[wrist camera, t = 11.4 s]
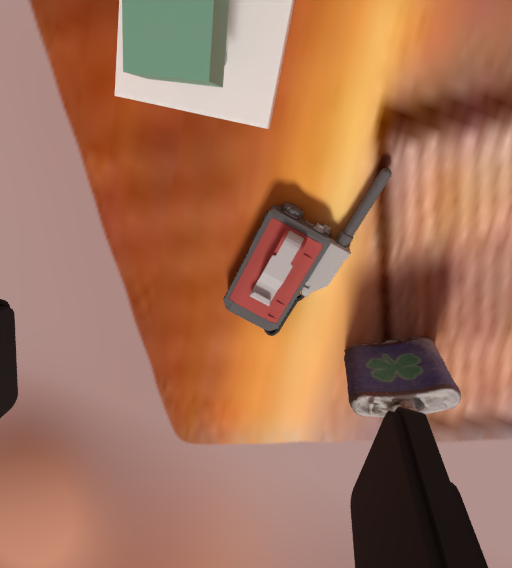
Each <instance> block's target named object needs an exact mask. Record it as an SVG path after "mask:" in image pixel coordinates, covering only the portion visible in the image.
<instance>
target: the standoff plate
mask: <svg viewBox="0 0 512 568" xmlns="http://www.w3.org/2000/svg"><path fill="white" fill-rule="evenodd" d="M294 2H295V0H229V10H228V24H227V37H226V51H225V65H224V79H223V88H222V87H213V86H205V85H196V84H187V83H179V82H170V81H161V80H152V79H146V78H142V77H139V76H136V75H132V74H129V73H125V72H123V35H122V0H119V21H118V41H117V61H116V82H115V96H119V97H123V98H128V99H133V100H137V101H142V102H146V103H151V104H156V105H160V106H165V107H169V108H174V109H179V110H183V111H188V112H192V113H197V114H202V115H206V116H211V117H216V118H220V119H225V120H229V121H234V122H239V123H243V124H248V125H252V126H257V127H262V128H266V129H270V124H271V119H272V114H273V109H274V104H275V98H276V93H277V88H278V83H279V78H280V73H281V68H282V63H283V58H284V53H285V48H286V42H287V37H288V32H289V27H290V22H291V17H292V12H293V7H294Z"/></svg>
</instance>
